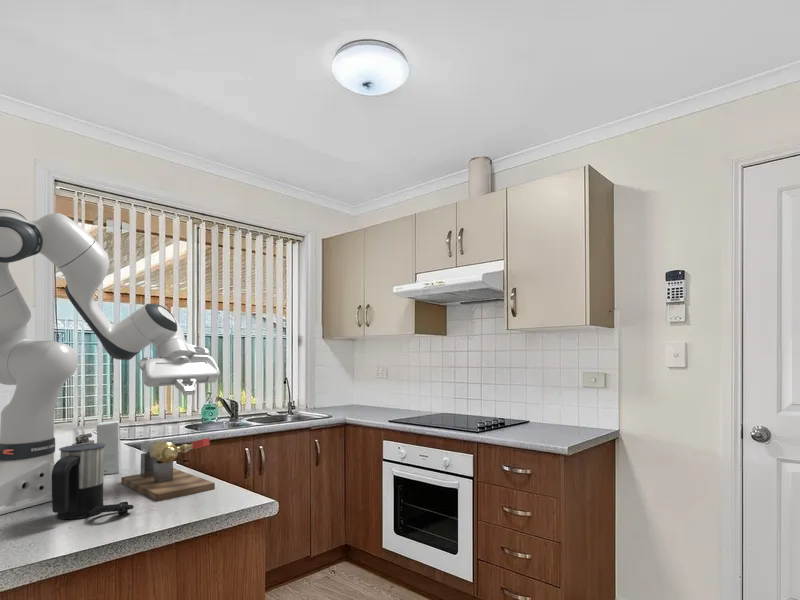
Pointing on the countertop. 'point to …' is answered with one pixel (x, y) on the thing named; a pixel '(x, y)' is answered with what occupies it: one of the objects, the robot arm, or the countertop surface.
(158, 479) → the valve rig
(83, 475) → the milk frother
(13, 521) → the countertop surface
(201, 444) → the valve lever
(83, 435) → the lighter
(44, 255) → the robot arm
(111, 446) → the skincare box
